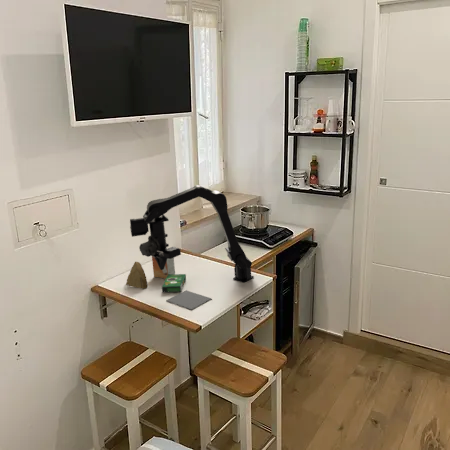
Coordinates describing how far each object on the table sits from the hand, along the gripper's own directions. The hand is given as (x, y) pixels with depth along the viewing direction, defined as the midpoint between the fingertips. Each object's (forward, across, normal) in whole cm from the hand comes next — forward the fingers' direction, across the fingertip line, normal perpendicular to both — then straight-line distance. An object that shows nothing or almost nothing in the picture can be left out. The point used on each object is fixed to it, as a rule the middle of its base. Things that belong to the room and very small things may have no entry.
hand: (162, 269), depth 193 cm
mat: (+10, +14, 0) cm, 17 cm away
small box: (+10, -13, +12) cm, 20 cm away
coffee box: (+8, +3, +1) cm, 9 cm away
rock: (+10, -15, -2) cm, 18 cm away
